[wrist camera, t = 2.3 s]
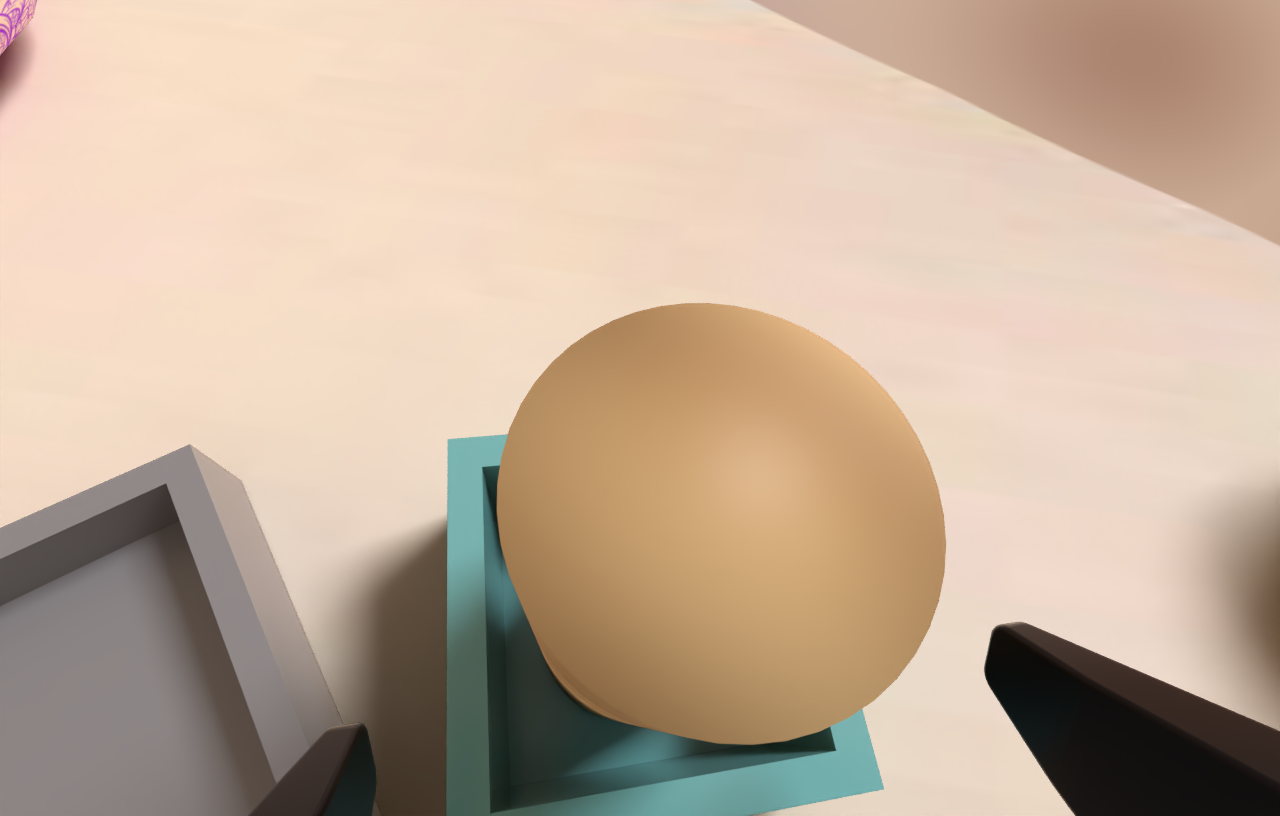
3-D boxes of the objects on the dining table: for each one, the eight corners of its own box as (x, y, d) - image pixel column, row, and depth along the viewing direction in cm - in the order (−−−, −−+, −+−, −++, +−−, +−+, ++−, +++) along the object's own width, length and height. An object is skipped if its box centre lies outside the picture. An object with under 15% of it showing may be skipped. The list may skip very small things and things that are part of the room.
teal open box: (798, 767, 16) (884, 789, 12) (481, 826, 15) (446, 874, 11) (734, 477, 20) (780, 412, 16) (475, 502, 19) (447, 439, 14)
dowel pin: (647, 763, 16) (818, 878, 5) (503, 643, 17) (391, 524, 6) (743, 606, 18) (1005, 453, 7) (611, 507, 19) (669, 241, 8)
